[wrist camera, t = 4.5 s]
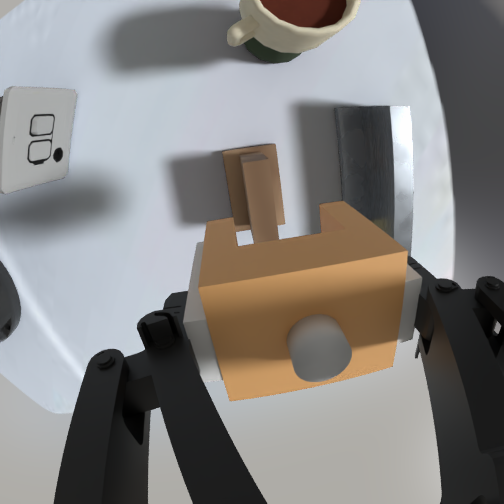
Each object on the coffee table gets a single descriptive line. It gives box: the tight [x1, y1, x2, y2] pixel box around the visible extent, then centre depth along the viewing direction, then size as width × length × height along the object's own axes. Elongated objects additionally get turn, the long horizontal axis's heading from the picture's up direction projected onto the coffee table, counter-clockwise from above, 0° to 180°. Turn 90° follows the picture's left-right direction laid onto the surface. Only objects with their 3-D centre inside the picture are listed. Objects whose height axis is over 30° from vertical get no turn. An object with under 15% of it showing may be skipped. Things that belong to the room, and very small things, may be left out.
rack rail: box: [335, 106, 413, 256], centre depth 28 cm, size 7×20×9 cm, turn 8°
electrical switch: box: [0, 86, 77, 194], centre depth 23 cm, size 9×5×9 cm, turn 168°
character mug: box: [227, 0, 361, 63], centre depth 19 cm, size 11×7×13 cm, turn 126°
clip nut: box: [198, 201, 408, 401], centre depth 12 cm, size 6×5×7 cm
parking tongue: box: [222, 144, 285, 244], centre depth 28 cm, size 5×8×7 cm, turn 8°
